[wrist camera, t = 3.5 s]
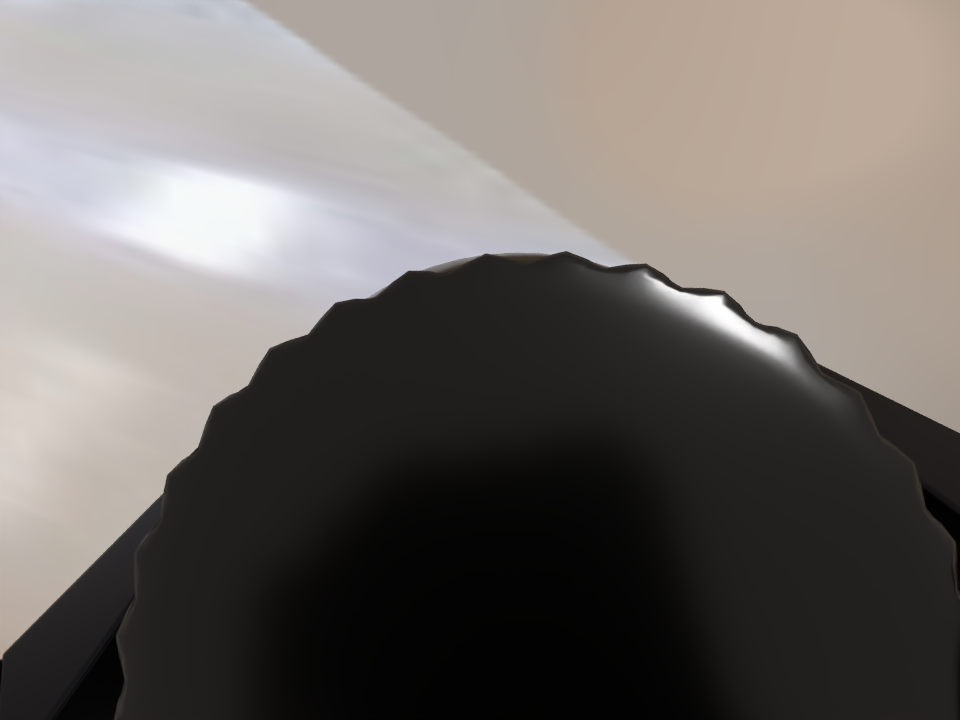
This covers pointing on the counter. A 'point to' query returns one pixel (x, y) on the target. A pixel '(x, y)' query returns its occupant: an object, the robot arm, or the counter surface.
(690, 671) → the supplement bottle
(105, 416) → the counter surface
